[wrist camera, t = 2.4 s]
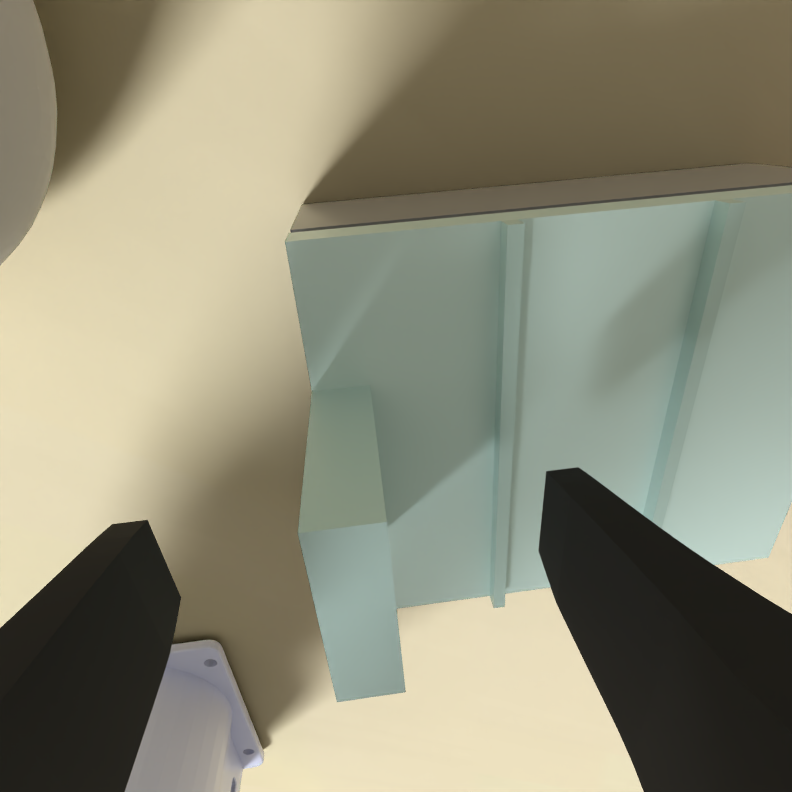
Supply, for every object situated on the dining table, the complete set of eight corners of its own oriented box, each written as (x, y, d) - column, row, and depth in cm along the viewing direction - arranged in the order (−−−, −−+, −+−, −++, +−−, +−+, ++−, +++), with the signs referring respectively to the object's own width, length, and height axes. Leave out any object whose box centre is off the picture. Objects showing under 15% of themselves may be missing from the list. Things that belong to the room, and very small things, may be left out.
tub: (748, 163, 13) (871, 174, 10) (673, 461, 18) (741, 530, 15) (301, 204, 13) (290, 230, 10) (348, 502, 18) (351, 582, 14)
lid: (885, 176, 10) (1281, 214, 6) (748, 537, 15) (909, 699, 11) (289, 232, 9) (248, 321, 5) (351, 590, 14) (356, 785, 10)
